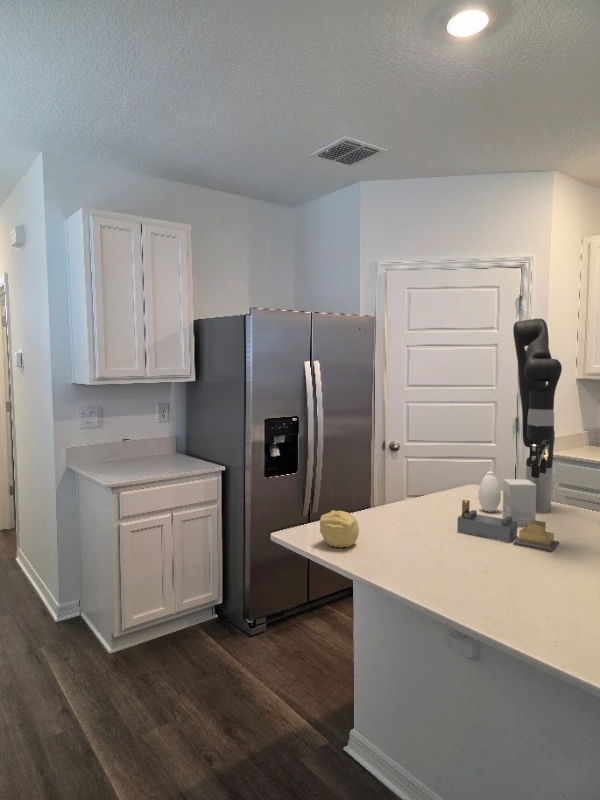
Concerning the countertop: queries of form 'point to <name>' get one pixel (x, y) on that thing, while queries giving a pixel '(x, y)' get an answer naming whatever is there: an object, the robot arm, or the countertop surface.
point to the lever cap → (536, 534)
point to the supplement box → (519, 500)
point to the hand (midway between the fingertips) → (538, 475)
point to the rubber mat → (536, 545)
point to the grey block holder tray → (486, 525)
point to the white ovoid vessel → (489, 492)
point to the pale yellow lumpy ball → (339, 528)
